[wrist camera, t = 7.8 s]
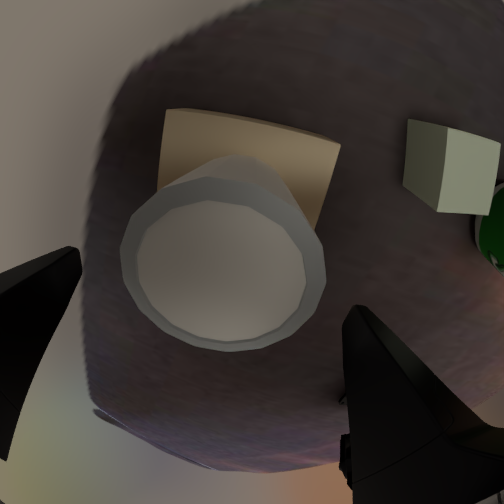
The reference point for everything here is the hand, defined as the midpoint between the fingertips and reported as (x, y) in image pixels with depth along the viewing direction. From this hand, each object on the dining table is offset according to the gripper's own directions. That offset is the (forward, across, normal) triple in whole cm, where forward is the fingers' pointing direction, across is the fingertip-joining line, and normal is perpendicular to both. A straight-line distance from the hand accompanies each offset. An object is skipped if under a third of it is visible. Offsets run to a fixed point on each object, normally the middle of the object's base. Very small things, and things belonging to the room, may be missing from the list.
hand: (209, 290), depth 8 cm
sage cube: (+12, -13, -6) cm, 19 cm away
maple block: (+12, 0, 0) cm, 12 cm away
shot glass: (+8, 0, 0) cm, 8 cm away
